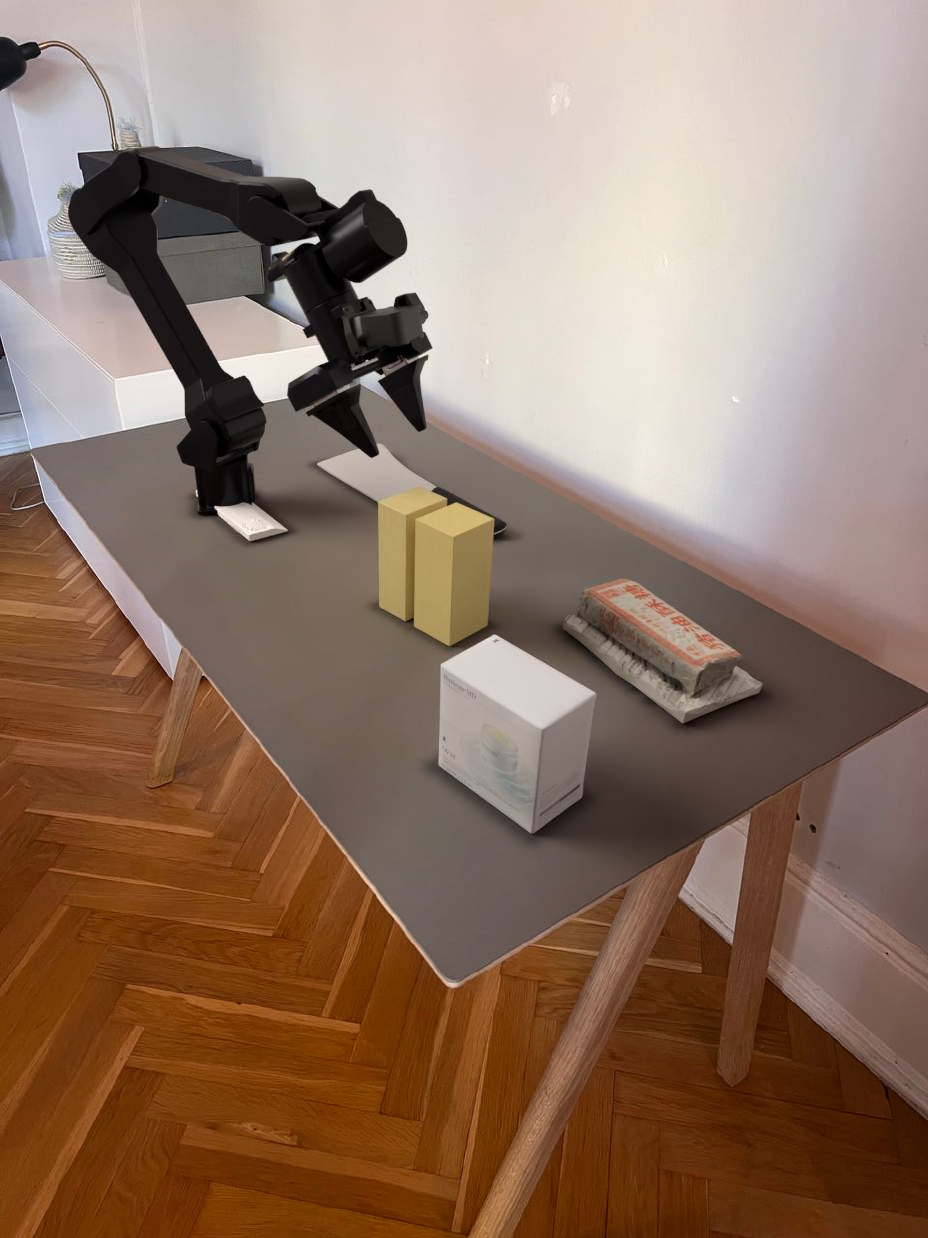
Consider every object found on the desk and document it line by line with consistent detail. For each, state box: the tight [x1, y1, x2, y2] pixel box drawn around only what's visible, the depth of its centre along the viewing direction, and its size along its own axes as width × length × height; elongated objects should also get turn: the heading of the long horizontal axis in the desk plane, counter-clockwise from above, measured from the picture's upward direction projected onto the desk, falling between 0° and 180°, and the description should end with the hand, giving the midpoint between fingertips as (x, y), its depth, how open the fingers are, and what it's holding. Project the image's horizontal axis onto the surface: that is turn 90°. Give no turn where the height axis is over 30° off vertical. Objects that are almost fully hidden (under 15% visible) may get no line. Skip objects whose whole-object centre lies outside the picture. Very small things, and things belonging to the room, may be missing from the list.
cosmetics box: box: [438, 634, 598, 834], centre depth 70 cm, size 10×6×10 cm, turn 45°
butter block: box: [413, 502, 494, 647], centre depth 89 cm, size 5×6×12 cm
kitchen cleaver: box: [317, 443, 508, 539], centre depth 118 cm, size 31×2×10 cm
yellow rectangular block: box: [377, 486, 447, 622], centre depth 92 cm, size 4×6×12 cm
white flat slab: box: [195, 489, 289, 542], centre depth 112 cm, size 5×15×1 cm, turn 37°
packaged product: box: [562, 578, 764, 724], centre depth 87 cm, size 18×5×10 cm
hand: (400, 442), depth 96 cm, fingers open, 9 cm apart
